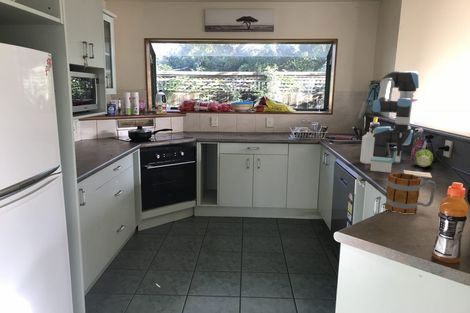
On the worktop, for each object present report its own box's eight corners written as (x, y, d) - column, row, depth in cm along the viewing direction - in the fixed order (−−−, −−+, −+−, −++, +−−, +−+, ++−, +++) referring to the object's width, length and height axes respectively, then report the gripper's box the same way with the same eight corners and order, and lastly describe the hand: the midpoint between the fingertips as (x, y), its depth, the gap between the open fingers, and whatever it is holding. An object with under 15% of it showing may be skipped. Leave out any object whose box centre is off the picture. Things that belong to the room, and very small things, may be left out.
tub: (370, 168, 230) (372, 157, 229) (390, 170, 226) (391, 159, 224) (370, 171, 221) (371, 160, 220) (390, 173, 217) (391, 162, 215)
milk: (367, 162, 248) (370, 131, 244) (372, 164, 242) (375, 133, 238) (359, 162, 247) (362, 131, 243) (364, 164, 241) (367, 133, 237)
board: (403, 171, 224) (403, 170, 224) (429, 174, 218) (430, 172, 218) (404, 175, 214) (404, 173, 214) (431, 178, 208) (431, 176, 208)
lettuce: (412, 168, 231) (414, 152, 229) (413, 163, 249) (415, 147, 247) (432, 171, 226) (434, 154, 224) (431, 165, 244) (434, 149, 242)
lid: (371, 157, 230) (372, 148, 228) (399, 160, 223) (400, 151, 222) (370, 160, 220) (371, 151, 219) (400, 163, 213) (401, 154, 212)
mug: (388, 213, 148) (392, 179, 145) (381, 203, 161) (384, 171, 158) (438, 217, 145) (443, 182, 142) (427, 206, 158) (431, 174, 155)
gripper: (394, 121, 225) (390, 156, 229) (395, 125, 206) (390, 162, 210) (407, 122, 222) (403, 157, 227) (409, 125, 203) (404, 163, 207)
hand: (397, 159), depth 218 cm, fingers open, 9 cm apart
